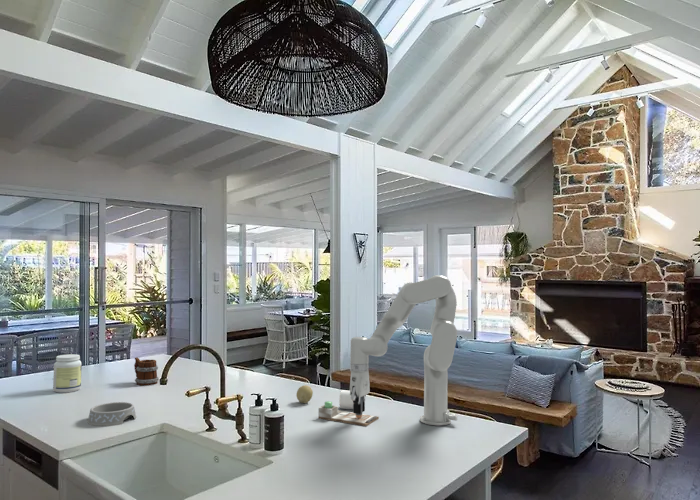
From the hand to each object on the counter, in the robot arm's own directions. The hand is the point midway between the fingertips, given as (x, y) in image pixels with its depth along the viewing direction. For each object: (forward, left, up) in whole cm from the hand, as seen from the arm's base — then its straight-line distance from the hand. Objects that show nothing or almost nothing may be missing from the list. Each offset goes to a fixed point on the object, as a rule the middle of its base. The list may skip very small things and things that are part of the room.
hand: (359, 411), depth 216 cm
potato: (+34, -12, -4) cm, 36 cm away
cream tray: (+5, 0, -3) cm, 6 cm away
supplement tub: (+148, +26, -4) cm, 150 cm away
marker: (0, 0, -2) cm, 2 cm away
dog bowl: (+88, +48, -4) cm, 100 cm away
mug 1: (+128, -4, -4) cm, 128 cm away
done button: (+13, +3, 0) cm, 13 cm away
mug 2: (+11, -16, -4) cm, 20 cm away
